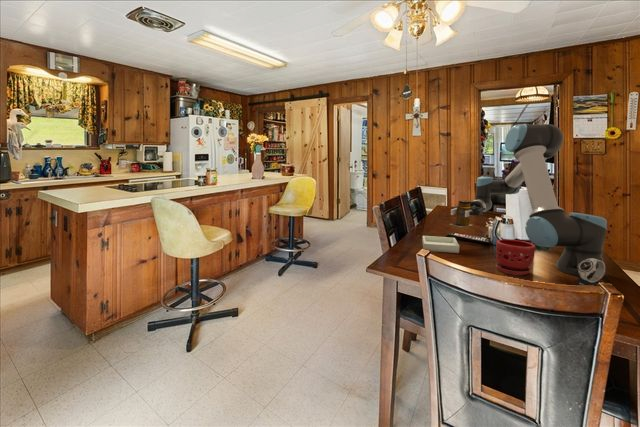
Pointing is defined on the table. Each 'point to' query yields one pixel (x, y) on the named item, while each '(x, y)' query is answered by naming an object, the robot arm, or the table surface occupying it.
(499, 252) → the plant pot
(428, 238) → the pale green square tray
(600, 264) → the watch
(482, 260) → the table surface
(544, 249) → the canned tomato
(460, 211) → the condiment
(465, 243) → the table surface
